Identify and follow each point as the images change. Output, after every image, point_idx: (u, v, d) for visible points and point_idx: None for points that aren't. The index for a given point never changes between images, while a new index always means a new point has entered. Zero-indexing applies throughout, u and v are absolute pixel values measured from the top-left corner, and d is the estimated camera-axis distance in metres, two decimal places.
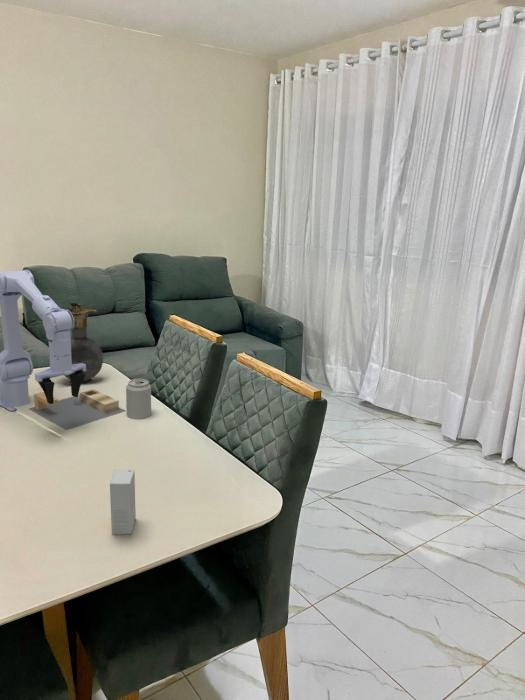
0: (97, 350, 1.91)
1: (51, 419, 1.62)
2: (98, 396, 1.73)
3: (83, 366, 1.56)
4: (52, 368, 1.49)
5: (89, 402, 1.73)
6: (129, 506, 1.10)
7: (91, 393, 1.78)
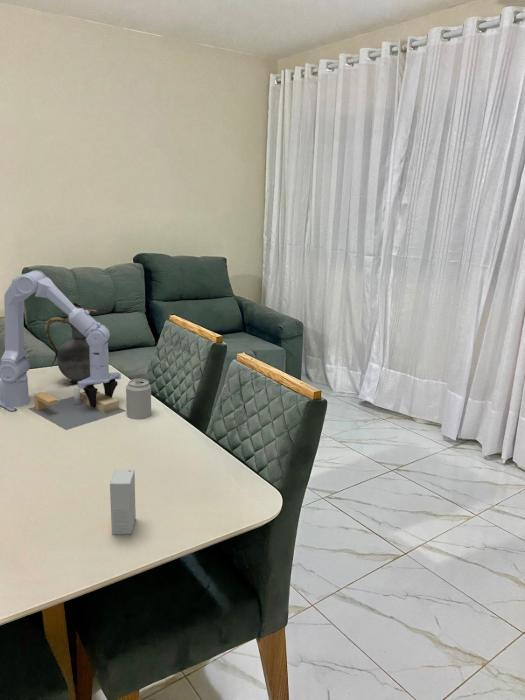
0: None
1: (51, 419, 1.62)
2: (98, 396, 1.73)
3: (118, 375, 1.75)
4: (92, 377, 1.69)
5: (89, 402, 1.73)
6: (129, 506, 1.10)
7: None
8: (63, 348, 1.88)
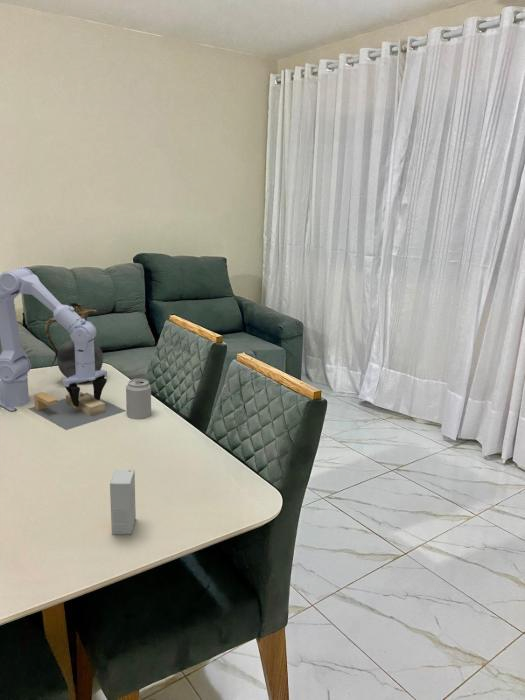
0: (97, 350, 1.91)
1: (51, 419, 1.62)
2: (85, 399, 1.71)
3: (105, 372, 1.72)
4: (78, 374, 1.66)
5: None
6: (129, 506, 1.10)
7: None
8: (63, 348, 1.88)
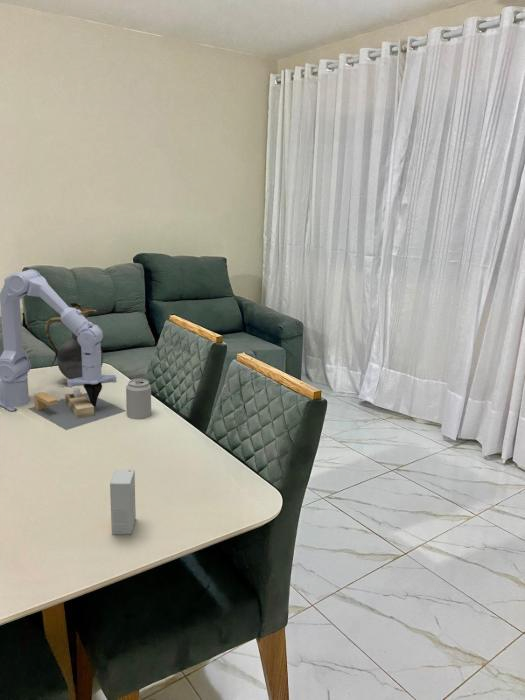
0: None
1: (51, 419, 1.62)
2: (78, 400, 1.70)
3: (113, 378, 1.70)
4: (82, 377, 1.66)
5: (69, 405, 1.70)
6: (129, 506, 1.10)
7: None
8: (63, 348, 1.88)
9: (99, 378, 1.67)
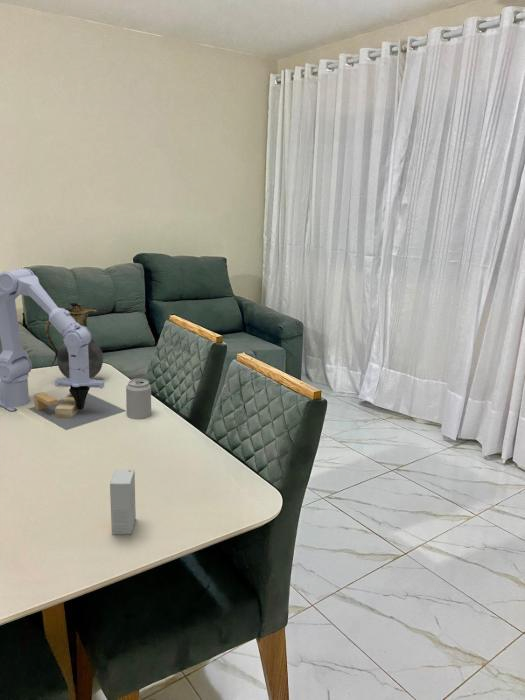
0: (97, 350, 1.91)
1: (51, 419, 1.62)
2: (70, 400, 1.69)
3: (99, 383, 1.65)
4: None
5: None
6: (129, 506, 1.10)
7: None
8: (63, 348, 1.88)
9: (83, 381, 1.63)
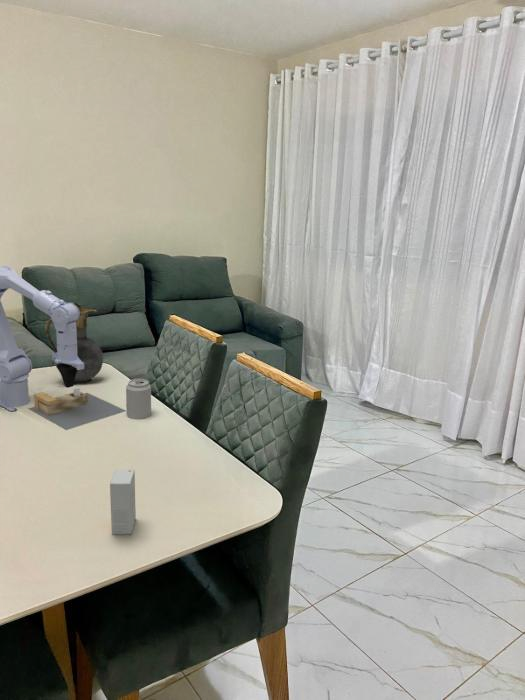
0: (97, 350, 1.91)
1: (51, 419, 1.62)
2: (63, 398, 1.71)
3: (76, 364, 1.59)
4: None
5: None
6: (129, 506, 1.10)
7: None
8: None
9: (64, 359, 1.61)
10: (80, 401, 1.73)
